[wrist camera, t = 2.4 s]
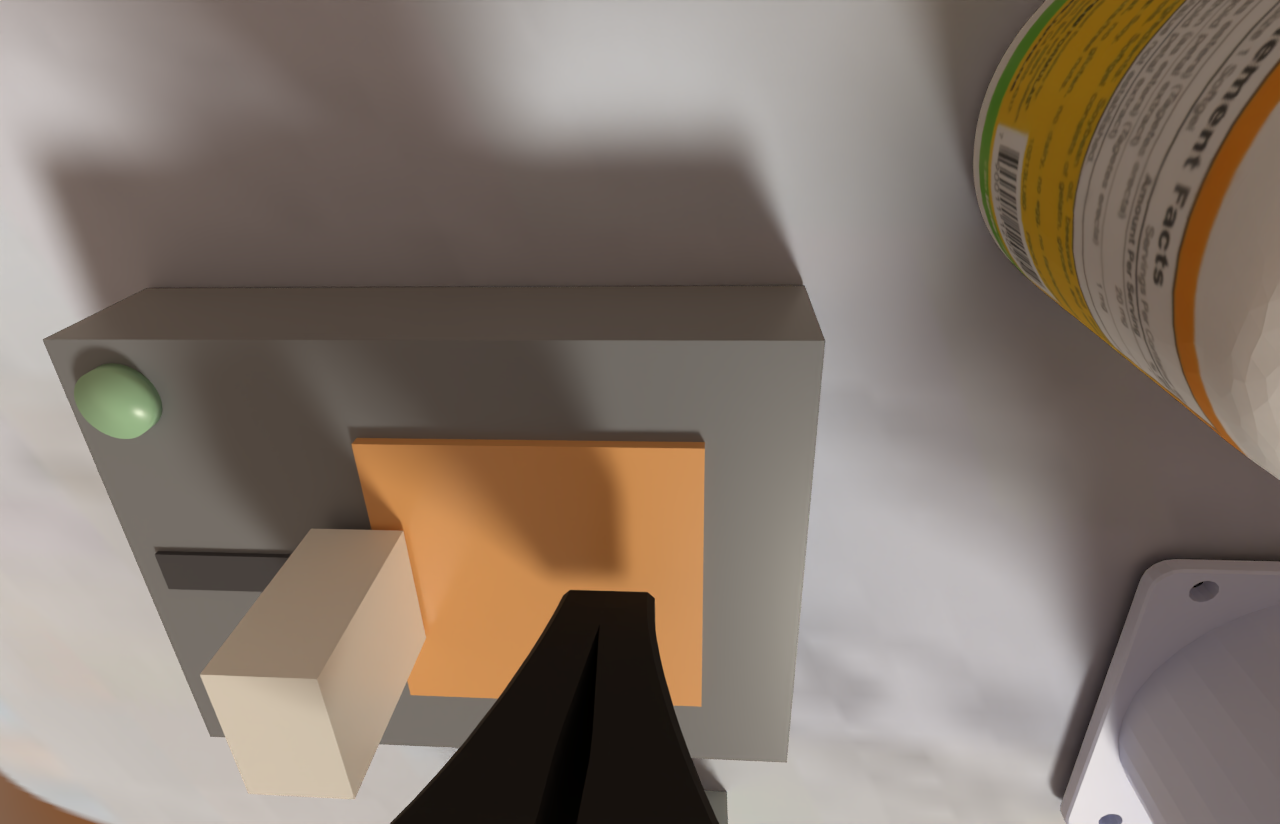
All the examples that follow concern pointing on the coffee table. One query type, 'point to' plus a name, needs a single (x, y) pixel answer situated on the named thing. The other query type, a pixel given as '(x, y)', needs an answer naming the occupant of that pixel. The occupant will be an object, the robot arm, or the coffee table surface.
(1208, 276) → the supplement bottle
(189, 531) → the switch box
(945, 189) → the coffee table surface
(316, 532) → the lever
